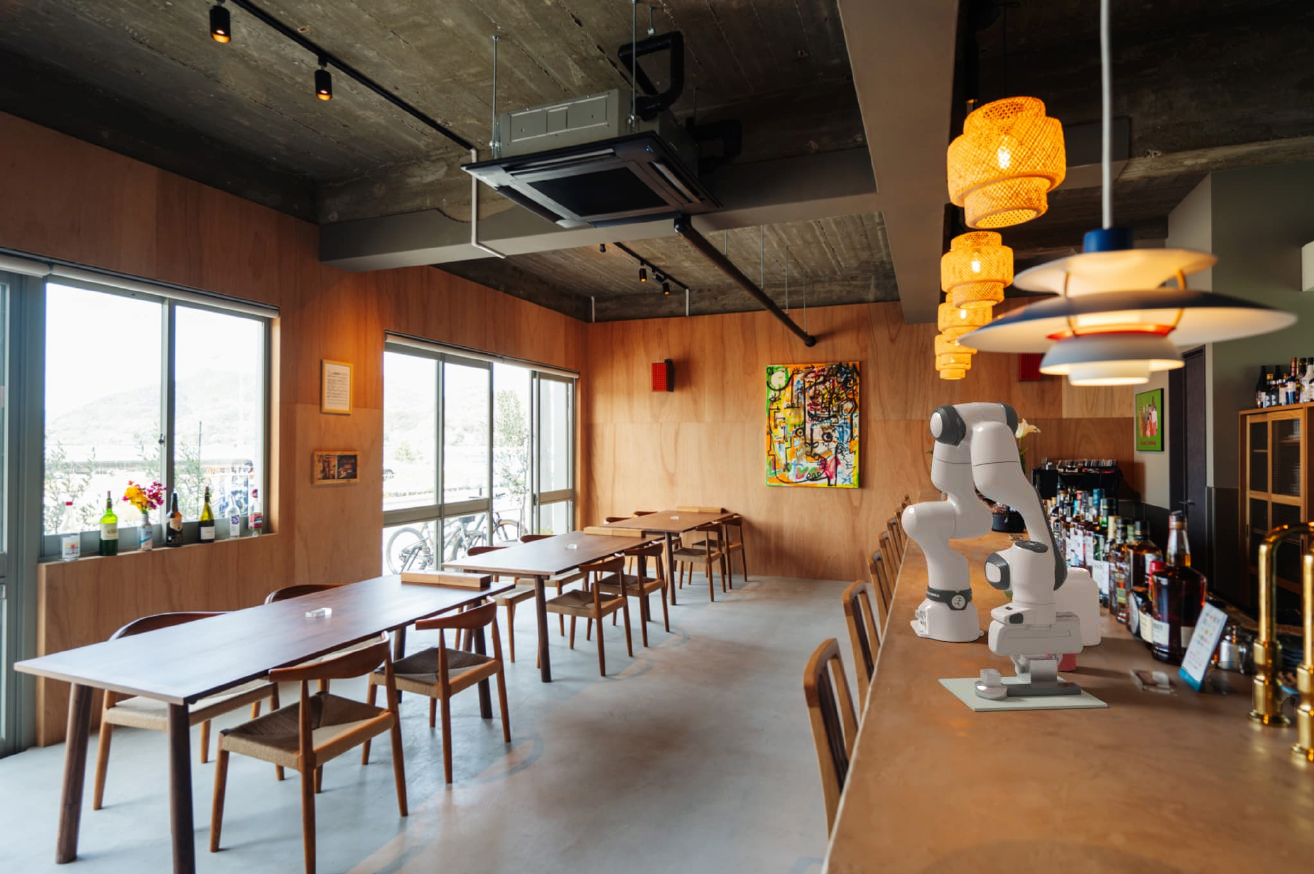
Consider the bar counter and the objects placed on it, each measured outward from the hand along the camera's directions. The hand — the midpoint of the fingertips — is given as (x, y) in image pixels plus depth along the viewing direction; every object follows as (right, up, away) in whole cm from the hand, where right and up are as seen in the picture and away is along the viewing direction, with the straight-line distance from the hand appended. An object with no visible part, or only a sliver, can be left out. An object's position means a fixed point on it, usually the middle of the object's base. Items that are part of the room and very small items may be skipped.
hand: (1036, 672), depth 156 cm
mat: (-7, -3, -5) cm, 9 cm away
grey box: (0, -2, 0) cm, 2 cm away
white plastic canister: (+29, -3, +33) cm, 44 cm away
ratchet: (-6, -2, -7) cm, 10 cm away
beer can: (+12, -3, +11) cm, 17 cm away
